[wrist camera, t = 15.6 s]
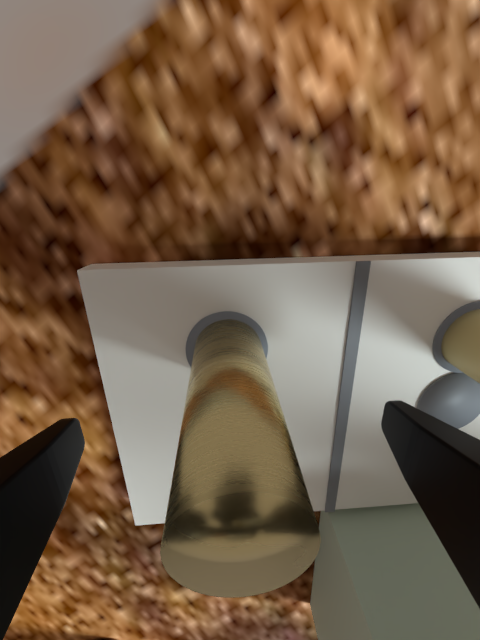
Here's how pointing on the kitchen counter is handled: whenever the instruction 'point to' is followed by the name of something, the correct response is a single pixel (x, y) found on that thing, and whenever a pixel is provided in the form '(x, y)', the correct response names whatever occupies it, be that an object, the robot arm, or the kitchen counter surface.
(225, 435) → the brass pin
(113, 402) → the board
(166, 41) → the kitchen counter surface
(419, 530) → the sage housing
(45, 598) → the kitchen counter surface
